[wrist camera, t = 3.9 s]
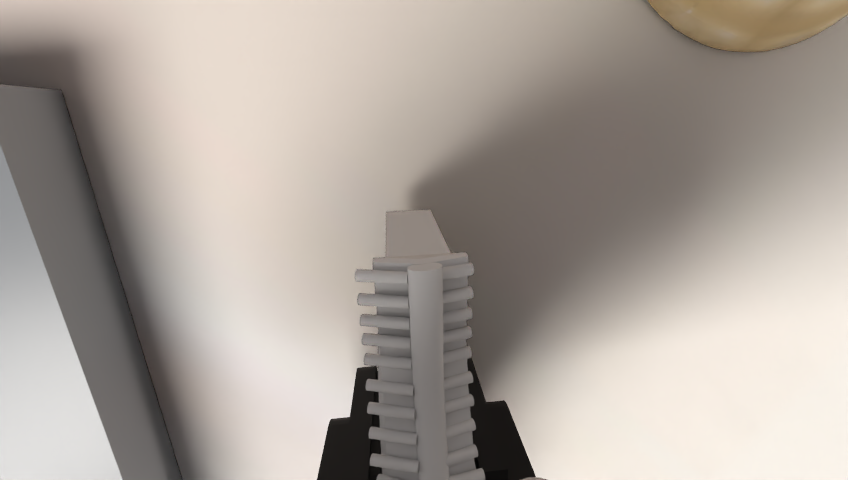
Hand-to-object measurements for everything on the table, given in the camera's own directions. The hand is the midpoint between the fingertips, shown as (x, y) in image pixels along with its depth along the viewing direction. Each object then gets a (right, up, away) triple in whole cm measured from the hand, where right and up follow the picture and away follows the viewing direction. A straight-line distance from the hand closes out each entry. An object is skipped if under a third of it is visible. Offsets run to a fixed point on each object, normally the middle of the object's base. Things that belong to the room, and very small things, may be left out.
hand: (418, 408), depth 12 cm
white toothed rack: (0, 0, +1) cm, 1 cm away
